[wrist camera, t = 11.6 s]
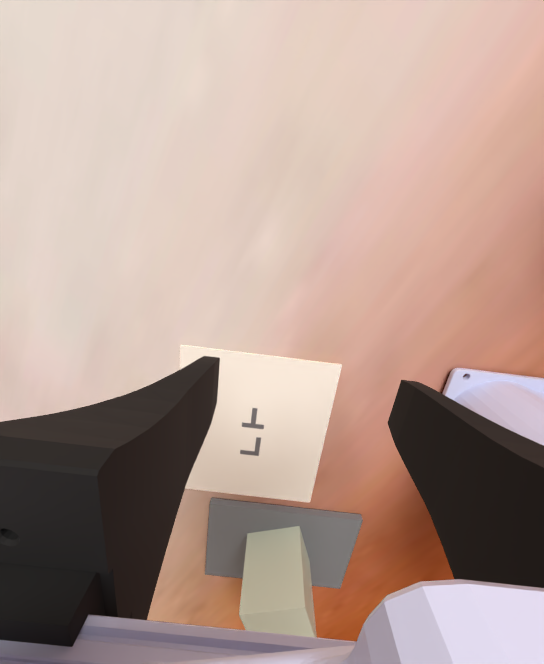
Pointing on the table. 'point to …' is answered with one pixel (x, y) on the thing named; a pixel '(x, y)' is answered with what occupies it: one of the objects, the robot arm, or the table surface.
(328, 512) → the slate mat
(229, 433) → the card
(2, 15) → the table surface
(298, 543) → the sage block
